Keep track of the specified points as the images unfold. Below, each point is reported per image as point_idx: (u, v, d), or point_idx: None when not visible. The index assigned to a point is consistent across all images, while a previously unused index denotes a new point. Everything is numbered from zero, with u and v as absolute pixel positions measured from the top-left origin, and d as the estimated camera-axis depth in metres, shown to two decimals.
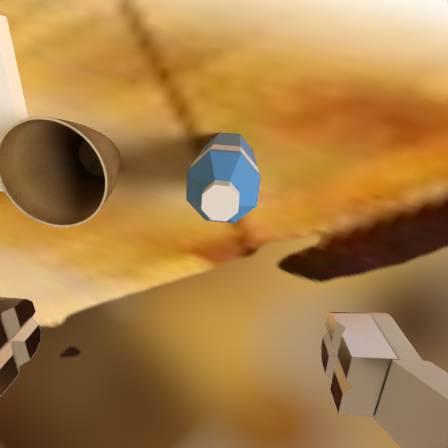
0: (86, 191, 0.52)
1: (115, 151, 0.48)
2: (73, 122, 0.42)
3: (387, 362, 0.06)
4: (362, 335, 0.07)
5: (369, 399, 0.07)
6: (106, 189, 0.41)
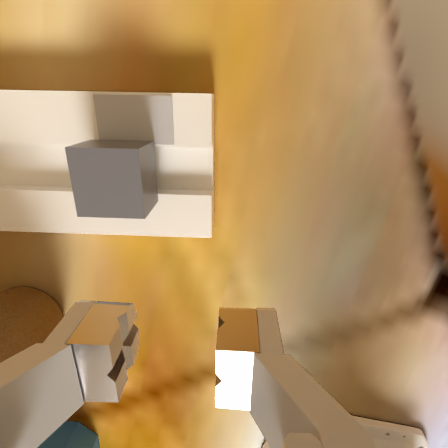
0: None
1: None
2: None
3: (251, 355, 0.06)
4: (237, 329, 0.07)
5: (241, 392, 0.07)
6: None
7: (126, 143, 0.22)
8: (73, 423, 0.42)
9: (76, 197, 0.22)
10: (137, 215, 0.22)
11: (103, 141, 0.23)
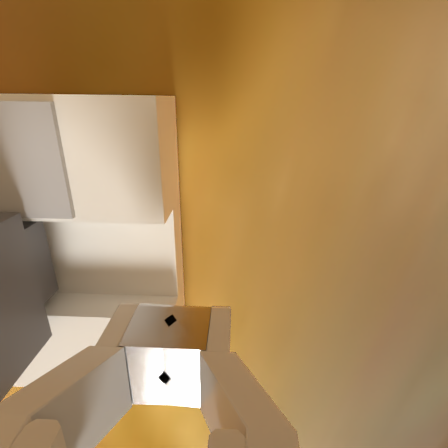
0: None
1: None
2: None
3: (197, 353, 0.06)
4: (187, 327, 0.07)
5: (191, 390, 0.07)
6: None
7: None
8: None
9: None
10: None
11: None
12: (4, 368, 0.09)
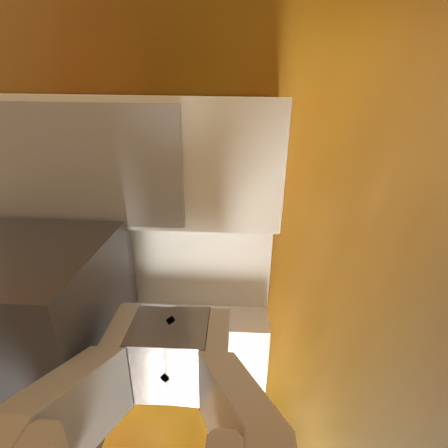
0: None
1: None
2: None
3: (195, 353, 0.06)
4: (186, 327, 0.07)
5: (190, 390, 0.07)
6: None
7: (37, 245, 0.08)
8: None
9: None
10: None
11: None
12: None
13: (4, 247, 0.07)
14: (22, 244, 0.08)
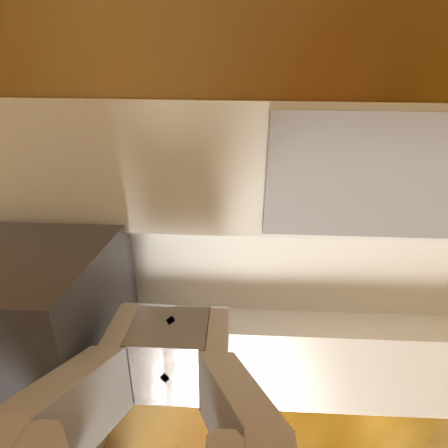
0: None
1: None
2: None
3: (195, 353, 0.06)
4: (186, 327, 0.07)
5: (190, 390, 0.07)
6: None
7: (37, 249, 0.08)
8: None
9: None
10: None
11: None
12: None
13: (4, 251, 0.07)
14: (22, 248, 0.08)
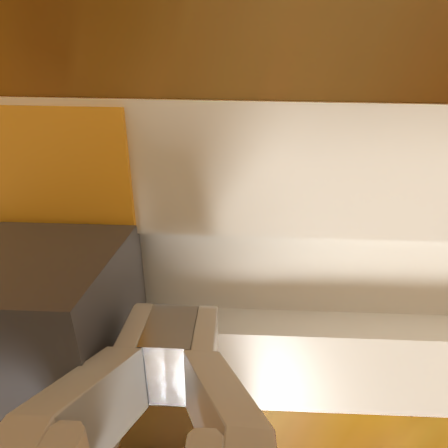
0: None
1: None
2: None
3: (181, 352, 0.06)
4: (173, 327, 0.07)
5: (176, 389, 0.07)
6: None
7: (52, 250, 0.08)
8: None
9: None
10: None
11: None
12: None
13: (19, 252, 0.07)
14: (37, 249, 0.08)
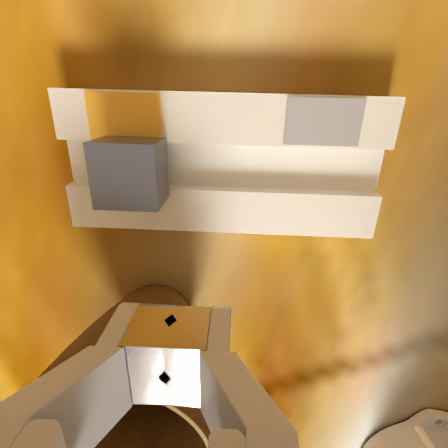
0: None
1: None
2: None
3: (197, 353, 0.06)
4: (187, 327, 0.07)
5: (191, 390, 0.07)
6: None
7: (140, 139, 0.23)
8: None
9: (92, 191, 0.23)
10: (150, 209, 0.23)
11: (118, 137, 0.24)
12: (162, 195, 0.24)
13: (130, 139, 0.23)
14: (135, 139, 0.23)
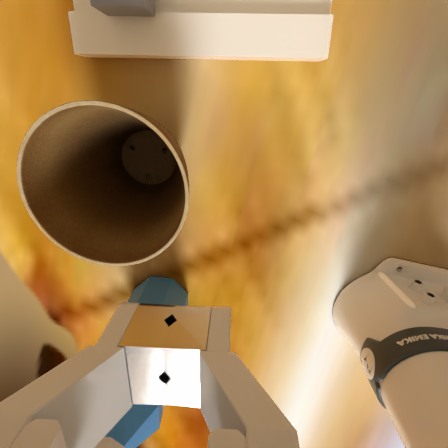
0: (93, 158, 0.36)
1: None
2: None
3: (197, 353, 0.06)
4: (187, 327, 0.07)
5: (191, 390, 0.07)
6: (96, 262, 0.29)
7: None
8: (168, 278, 0.48)
9: None
10: (138, 2, 0.28)
11: None
12: (148, 1, 0.29)
13: None
14: None
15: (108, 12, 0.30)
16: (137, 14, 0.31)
